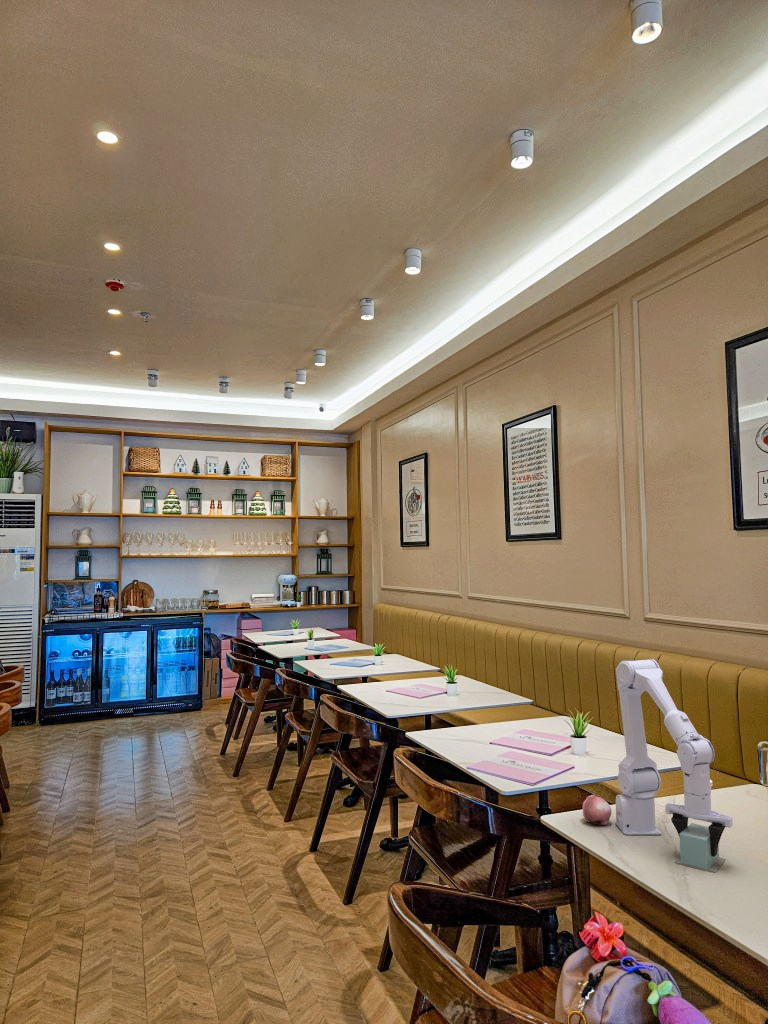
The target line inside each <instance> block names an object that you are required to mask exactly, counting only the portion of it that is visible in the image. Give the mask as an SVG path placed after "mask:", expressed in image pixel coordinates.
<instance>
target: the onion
mask: <svg viewBox="0 0 768 1024" xmlns="http://www.w3.org/2000/svg"><path fill="white" fill-rule="evenodd" d="M582 815H583V818H584V819H585V821H586V822H588V823H590V824H594V825H595V824H596V825H600V826H602V825H603V826H611V825H610V824H611V823H610V818H611V816H612V807H611V805H610V804H609V803H608V802H607V801H606V800H605V799H604V798H602V797H601V796H597V795H595V794H591V795H588V796H587V797H586V799H585V800H584V801H583V803H582ZM609 823H610V824H609Z"/></svg>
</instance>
